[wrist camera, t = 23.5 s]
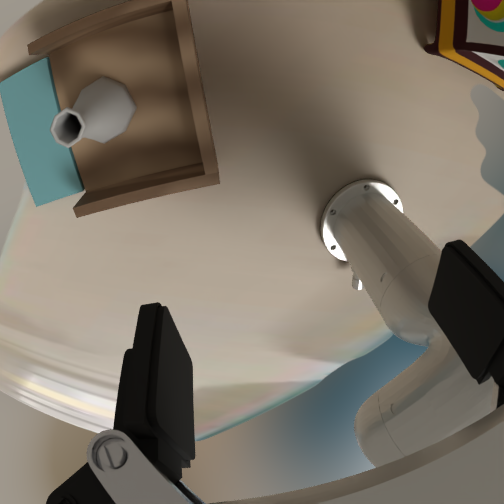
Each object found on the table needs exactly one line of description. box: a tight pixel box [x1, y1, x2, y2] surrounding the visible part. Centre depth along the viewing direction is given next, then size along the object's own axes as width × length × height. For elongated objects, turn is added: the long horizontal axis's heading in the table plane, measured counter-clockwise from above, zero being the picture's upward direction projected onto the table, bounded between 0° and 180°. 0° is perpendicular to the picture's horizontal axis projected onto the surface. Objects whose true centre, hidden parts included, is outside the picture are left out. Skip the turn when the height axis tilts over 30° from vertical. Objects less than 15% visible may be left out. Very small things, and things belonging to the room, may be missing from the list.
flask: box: [50, 76, 137, 148], centre depth 24 cm, size 7×7×10 cm
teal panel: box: [0, 57, 85, 207], centre depth 28 cm, size 17×1×8 cm
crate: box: [28, 0, 220, 218], centre depth 27 cm, size 20×16×6 cm
